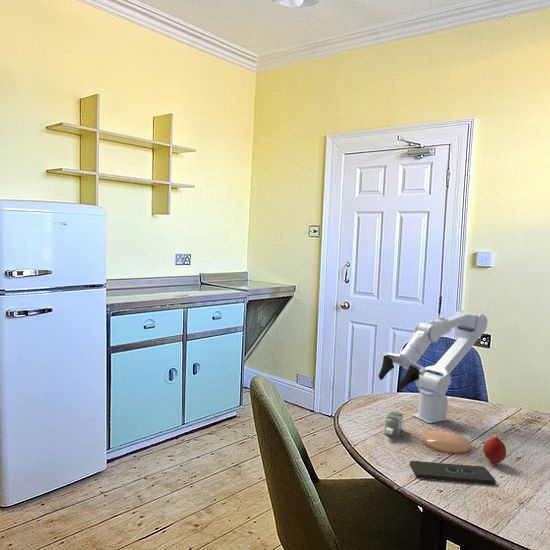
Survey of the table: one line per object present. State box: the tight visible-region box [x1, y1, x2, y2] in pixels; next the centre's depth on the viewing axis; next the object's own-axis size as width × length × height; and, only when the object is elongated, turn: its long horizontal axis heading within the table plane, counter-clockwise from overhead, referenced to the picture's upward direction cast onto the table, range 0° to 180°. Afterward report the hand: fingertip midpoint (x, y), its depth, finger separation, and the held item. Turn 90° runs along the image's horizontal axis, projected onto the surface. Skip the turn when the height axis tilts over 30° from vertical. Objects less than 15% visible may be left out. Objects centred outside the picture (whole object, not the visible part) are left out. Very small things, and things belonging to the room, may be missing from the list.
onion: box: [482, 434, 507, 465], centre depth 141 cm, size 6×6×8 cm
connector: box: [384, 411, 404, 439], centre depth 159 cm, size 12×4×5 cm, turn 155°
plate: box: [421, 430, 472, 455], centre depth 153 cm, size 14×14×1 cm
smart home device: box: [409, 460, 497, 486], centre depth 133 cm, size 8×2×20 cm
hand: (389, 382), depth 161 cm, fingers open, 7 cm apart
